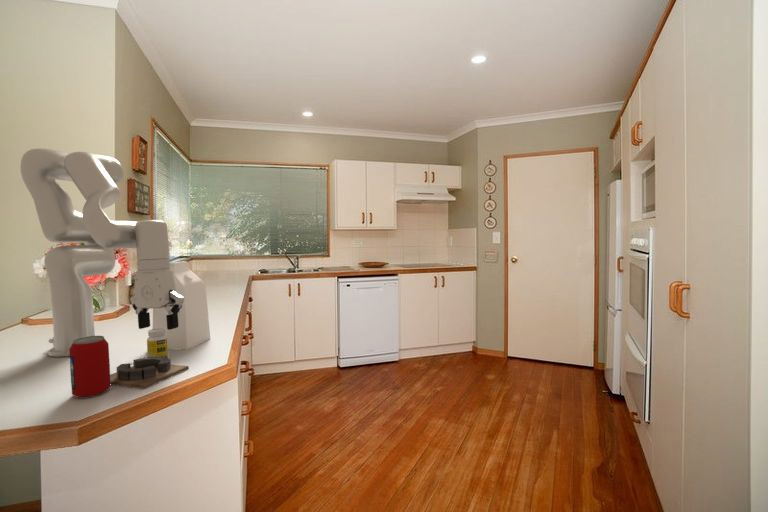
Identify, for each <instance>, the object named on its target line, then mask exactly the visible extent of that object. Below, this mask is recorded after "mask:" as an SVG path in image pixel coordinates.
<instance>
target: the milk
mask: <svg viewBox="0 0 768 512" xmlns="http://www.w3.org/2000/svg"><path fill="white" fill-rule="evenodd" d="M170 270H171V271H172V274H173V278H174V283H175V289H176V293H177V294H179V295H181V296H182V297H184V301H183V304H182V308H181V309H180V312H179V313H178V327H177V328H174V329H171V330H168V329H167V318H166V316H167V315H169V314H168V313H167V311H166V310H165V309H164V307H163V308H152V329H158V328H164V329H165V335H166V336H167V350H177V349H188V350H190V349H192V348H194V347H196V346H199V345H200V343H201V344H202V342H203V343H205V342H207V341H209V340H211V331H210V320H209V308H208V298H207V285H206V283H205V282H204V281H203V280H202V279H201V278H200V277H199V276H198V275H197V274H196V273H195V272H194V271H192V270H191V269H190V266H189V263H188V261H175V262H170ZM170 308H171V307H170ZM171 309H172V308H171ZM208 339H209V340H208ZM206 340H207V341H206ZM204 341H205V342H204ZM189 348H190V349H189Z"/></svg>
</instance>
